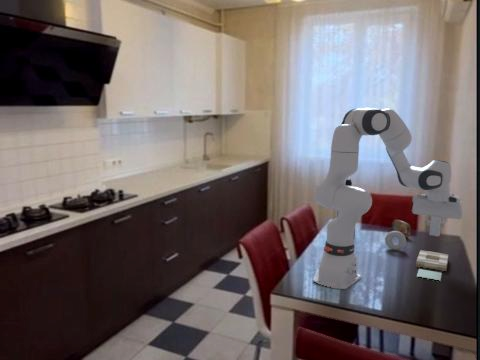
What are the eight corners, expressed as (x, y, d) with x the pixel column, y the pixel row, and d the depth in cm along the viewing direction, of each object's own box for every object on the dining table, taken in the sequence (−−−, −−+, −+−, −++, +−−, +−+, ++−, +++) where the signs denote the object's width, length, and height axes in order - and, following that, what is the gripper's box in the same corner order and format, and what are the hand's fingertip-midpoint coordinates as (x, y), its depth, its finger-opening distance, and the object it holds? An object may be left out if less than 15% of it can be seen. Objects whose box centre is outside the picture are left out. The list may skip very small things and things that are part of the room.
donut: (405, 250, 198) (406, 231, 196) (405, 252, 195) (406, 233, 193) (384, 247, 201) (385, 229, 200) (384, 249, 198) (385, 230, 197)
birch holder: (446, 272, 170) (446, 265, 170) (416, 266, 176) (416, 260, 175) (447, 260, 184) (448, 254, 183) (419, 255, 190) (420, 250, 189)
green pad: (440, 281, 160) (440, 280, 160) (416, 277, 165) (416, 275, 164) (441, 274, 168) (441, 272, 168) (418, 270, 172) (419, 268, 172)
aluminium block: (439, 236, 175) (440, 217, 173) (429, 235, 177) (431, 215, 175) (439, 234, 178) (441, 215, 177) (430, 232, 180) (431, 214, 179)
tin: (391, 231, 230) (391, 217, 228) (395, 231, 230) (396, 217, 229) (406, 239, 215) (407, 224, 214) (411, 239, 215) (412, 224, 214)
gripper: (412, 194, 177) (409, 224, 179) (463, 199, 167) (460, 230, 169) (413, 192, 182) (411, 221, 185) (463, 197, 172) (460, 227, 175)
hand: (435, 225), depth 177 cm, fingers closed on aluminium block, 4 cm apart
